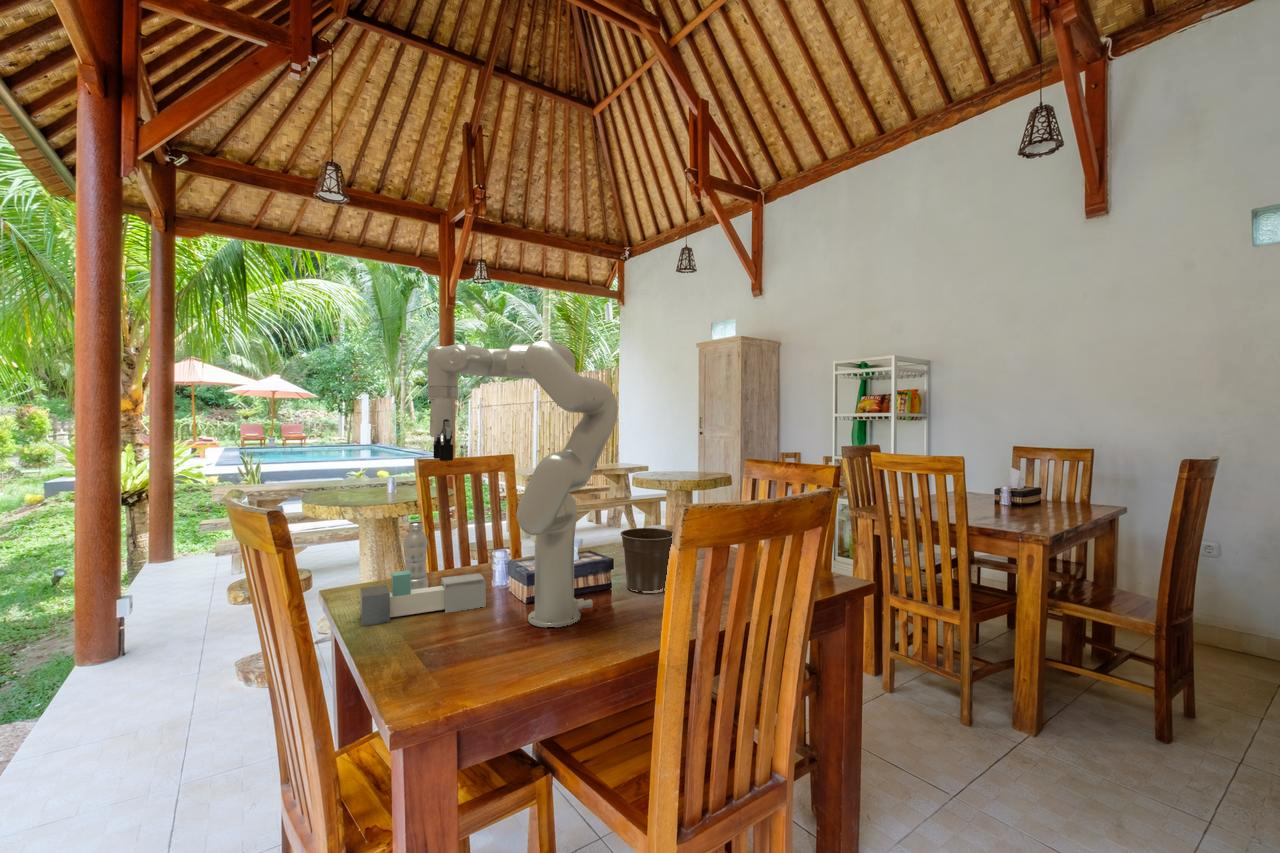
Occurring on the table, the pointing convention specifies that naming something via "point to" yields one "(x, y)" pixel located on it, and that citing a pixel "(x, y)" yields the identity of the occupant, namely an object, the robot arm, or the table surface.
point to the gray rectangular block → (464, 592)
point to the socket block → (375, 605)
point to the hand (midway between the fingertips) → (443, 459)
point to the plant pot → (646, 557)
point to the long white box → (413, 596)
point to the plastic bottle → (416, 555)
